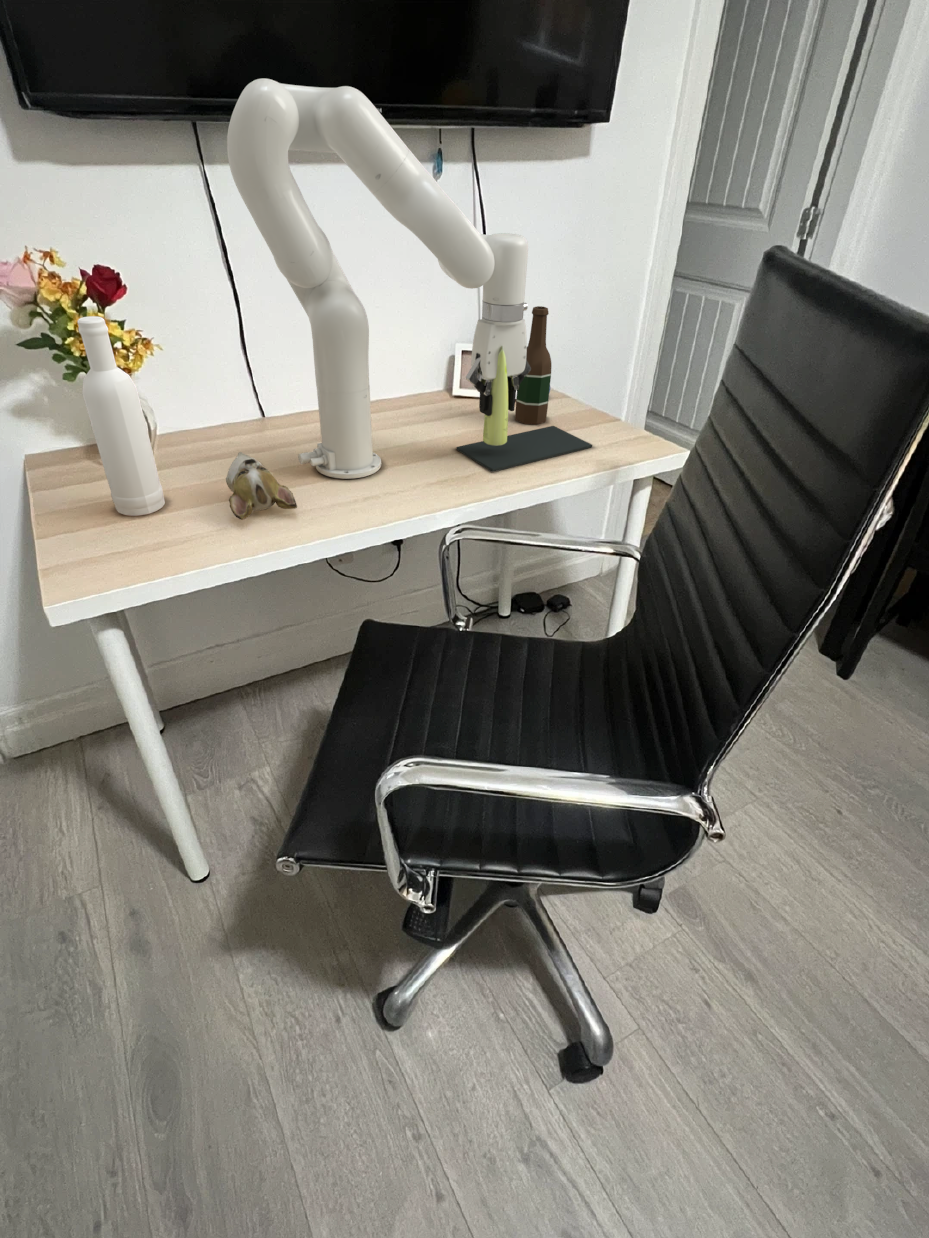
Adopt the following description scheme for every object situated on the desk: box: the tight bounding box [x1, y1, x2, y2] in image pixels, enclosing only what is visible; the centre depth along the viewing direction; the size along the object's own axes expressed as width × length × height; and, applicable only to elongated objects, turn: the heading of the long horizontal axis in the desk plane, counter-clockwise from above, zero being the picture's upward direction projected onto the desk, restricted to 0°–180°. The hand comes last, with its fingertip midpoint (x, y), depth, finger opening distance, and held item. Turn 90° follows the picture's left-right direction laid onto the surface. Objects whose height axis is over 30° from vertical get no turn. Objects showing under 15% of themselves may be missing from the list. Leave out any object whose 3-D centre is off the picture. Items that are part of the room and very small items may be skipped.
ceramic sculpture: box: [225, 451, 298, 521], centre depth 116 cm, size 11×9×15 cm
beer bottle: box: [514, 305, 552, 426], centre depth 151 cm, size 8×8×24 cm
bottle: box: [76, 315, 166, 517], centre depth 108 cm, size 8×8×30 cm
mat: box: [455, 425, 593, 473], centre depth 144 cm, size 26×13×1 cm, turn 124°
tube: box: [482, 346, 509, 446], centre depth 132 cm, size 6×5×20 cm
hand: (496, 410), depth 135 cm, fingers closed on tube, 4 cm apart
